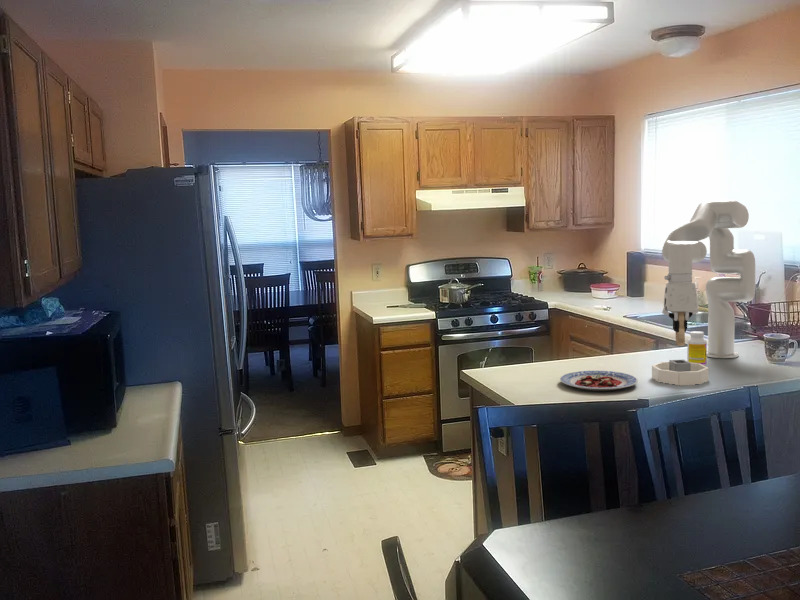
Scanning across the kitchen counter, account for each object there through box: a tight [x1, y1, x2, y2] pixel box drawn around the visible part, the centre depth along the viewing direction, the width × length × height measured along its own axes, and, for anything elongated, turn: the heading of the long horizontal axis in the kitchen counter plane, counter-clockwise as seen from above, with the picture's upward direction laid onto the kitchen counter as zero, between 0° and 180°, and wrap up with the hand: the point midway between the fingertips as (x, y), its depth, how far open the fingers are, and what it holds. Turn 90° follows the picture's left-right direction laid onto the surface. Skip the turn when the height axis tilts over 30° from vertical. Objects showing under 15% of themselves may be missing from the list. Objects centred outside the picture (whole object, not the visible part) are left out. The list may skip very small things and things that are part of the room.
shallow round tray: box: [651, 359, 710, 386], centre depth 234 cm, size 17×17×6 cm
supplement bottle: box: [686, 330, 708, 367], centre depth 254 cm, size 7×7×13 cm
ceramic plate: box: [559, 370, 639, 392], centre depth 233 cm, size 26×26×3 cm
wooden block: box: [675, 312, 686, 347], centre depth 233 cm, size 3×2×12 cm, turn 178°
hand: (680, 331), depth 233 cm, fingers closed on wooden block, 1 cm apart
